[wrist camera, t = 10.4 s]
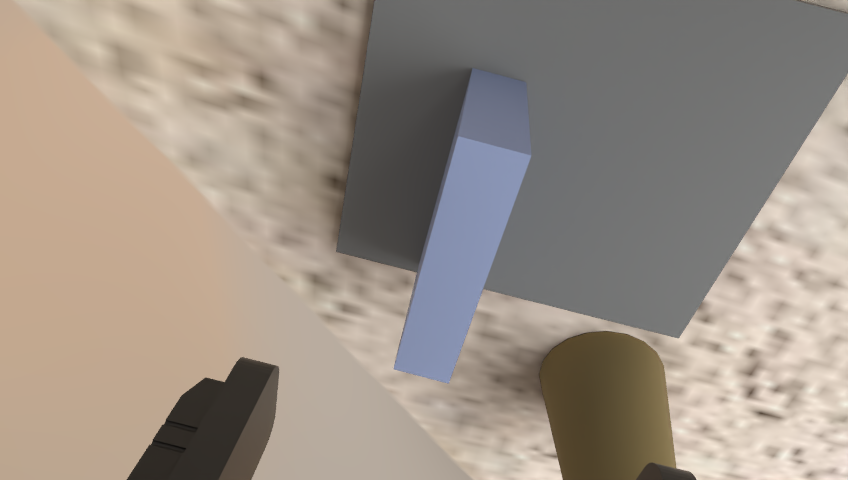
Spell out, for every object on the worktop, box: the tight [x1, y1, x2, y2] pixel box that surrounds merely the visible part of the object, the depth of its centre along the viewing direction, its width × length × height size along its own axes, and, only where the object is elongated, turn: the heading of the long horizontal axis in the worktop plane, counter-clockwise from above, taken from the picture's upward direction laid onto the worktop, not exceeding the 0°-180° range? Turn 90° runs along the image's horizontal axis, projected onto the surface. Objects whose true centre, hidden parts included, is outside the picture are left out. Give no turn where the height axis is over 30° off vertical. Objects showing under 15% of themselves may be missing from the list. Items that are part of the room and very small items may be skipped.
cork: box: [539, 331, 676, 480], centre depth 24 cm, size 6×6×11 cm
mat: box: [336, 0, 848, 338], centre depth 22 cm, size 16×14×1 cm
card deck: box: [394, 68, 531, 383], centre depth 20 cm, size 2×9×6 cm, turn 167°
